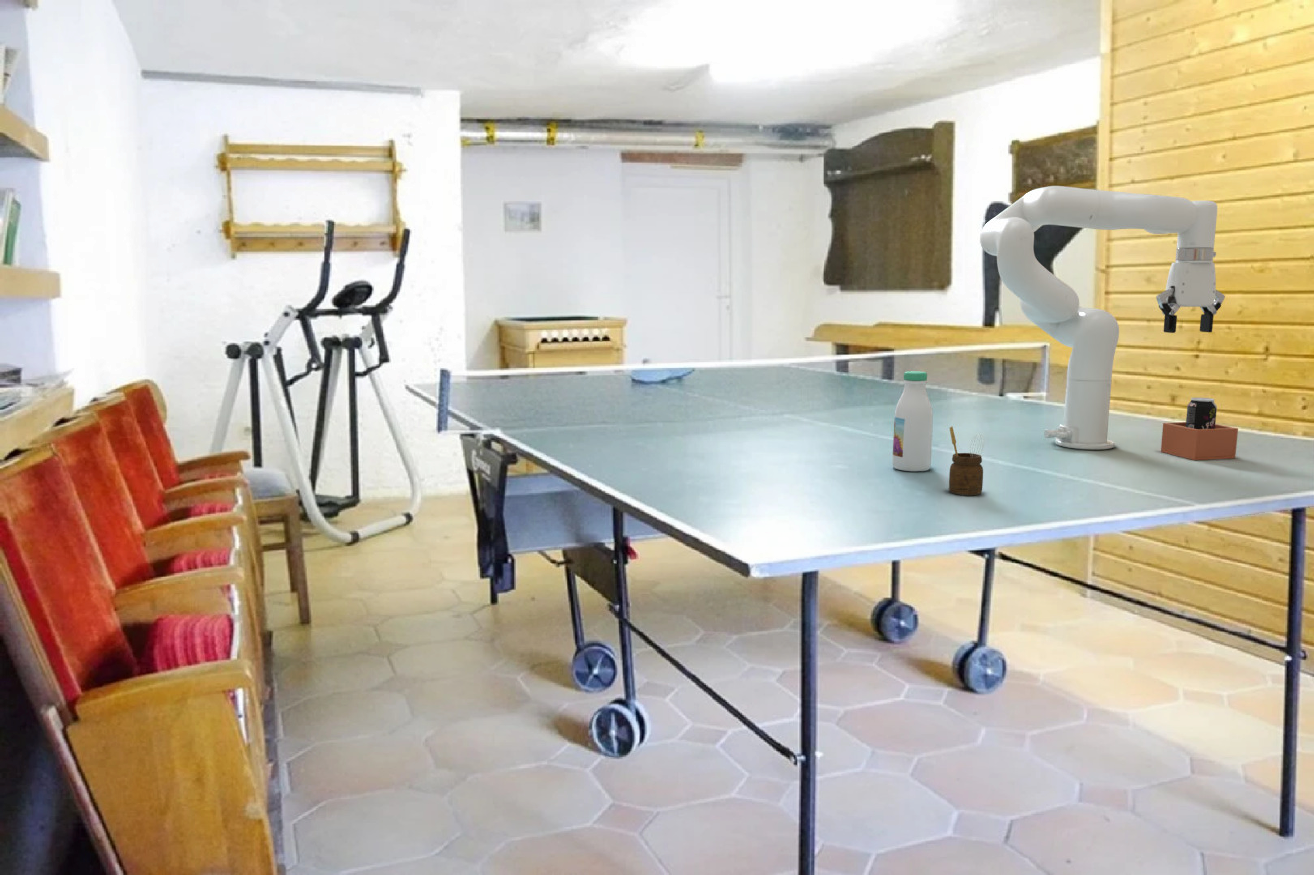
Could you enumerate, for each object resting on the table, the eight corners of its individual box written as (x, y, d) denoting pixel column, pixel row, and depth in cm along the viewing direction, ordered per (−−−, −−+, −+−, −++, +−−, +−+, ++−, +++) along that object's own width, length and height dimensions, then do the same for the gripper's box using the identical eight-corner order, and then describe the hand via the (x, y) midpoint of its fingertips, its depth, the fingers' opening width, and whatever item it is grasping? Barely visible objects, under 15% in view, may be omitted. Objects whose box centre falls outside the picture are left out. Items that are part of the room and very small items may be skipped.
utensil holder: (977, 497, 183) (981, 431, 181) (942, 493, 186) (945, 428, 184) (986, 491, 188) (989, 427, 186) (952, 487, 191) (955, 424, 189)
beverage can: (1213, 451, 225) (1218, 398, 223) (1211, 455, 220) (1216, 400, 218) (1184, 449, 228) (1189, 396, 226) (1182, 453, 223) (1186, 399, 221)
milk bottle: (933, 466, 211) (938, 371, 208) (926, 473, 204) (931, 374, 201) (896, 463, 214) (900, 369, 211) (888, 470, 207) (892, 372, 204)
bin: (1194, 460, 218) (1197, 430, 217) (1160, 451, 228) (1163, 422, 227) (1235, 458, 220) (1238, 428, 219) (1200, 449, 230) (1202, 421, 229)
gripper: (1214, 256, 235) (1207, 330, 238) (1149, 256, 231) (1143, 331, 234) (1239, 256, 228) (1232, 332, 231) (1173, 256, 224) (1166, 333, 227)
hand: (1187, 332), depth 233 cm, fingers open, 9 cm apart
